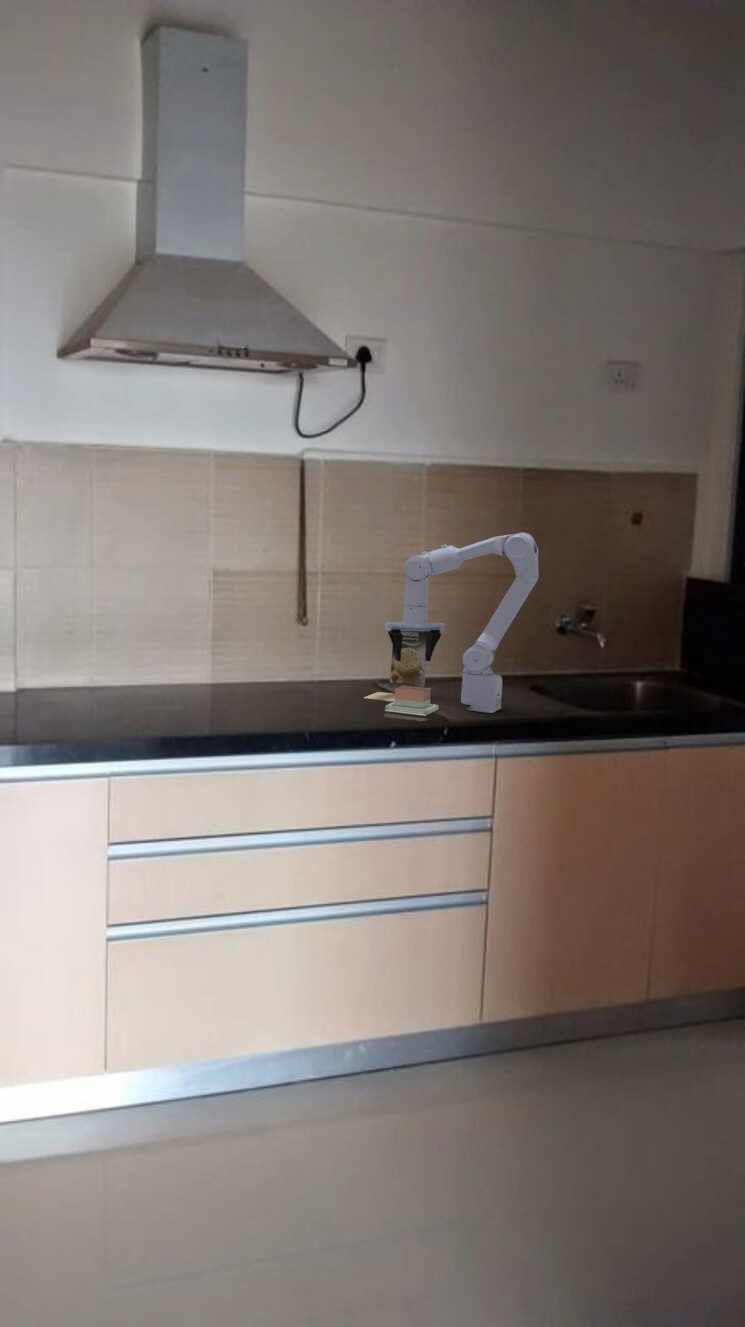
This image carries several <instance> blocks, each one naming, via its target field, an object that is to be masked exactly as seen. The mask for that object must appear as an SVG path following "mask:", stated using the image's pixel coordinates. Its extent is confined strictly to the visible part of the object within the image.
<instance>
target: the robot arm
mask: <svg viewBox="0 0 745 1327" xmlns="http://www.w3.org/2000/svg"><path fill="white" fill-rule="evenodd" d="M421 554H422V555H421ZM421 554H420V555H413V556H411V557H410V558H408V559H407V560H406V562H405V563H404V567H403V568H404V573H405V575H406V577H405V578H406V579H405V586H404V588H405V589H404V604H403V621H391V622H390V621H385V623H384V630H385V631H387V634H388V636H389V639H390V642H391V644H392V647H393V648H394V652H395V660H397V661H400V660H401V645H402V639H403V634H401V632H400V631H426V632H425V634H426V652H425V660H426V662H431V659H432V656H433V653H434V650H435V648H436V645H437V644H438V641H439V640H440V639H441V636H442V633H444V632H445V623H443V622H428V609H429V592H430V591H429V590H430V587H429V586H430V585H429V581H430V577H429V576H431V575H432V576H436V575H440V574H443V573H447V572H449V571H453V570H457V569H459V567H460V565H461V564H462V563H463V561H468V560H471V559H475V558H478V557H482V556H486V555H489V554H490V555H491V554H496V555H498V556H505V555H506V557H507V558H508V559H509V561H510V563H511V564H512V566H513V569H514V572H515V575H516V577H515V578H514V580H513V582H512V584H511V586H509V589H508V590H507V592H506V594H505V596H504V597H503V599H502V600H501V602H500V603H499V604H498V607H497V609H496V610H495V611H494V613H493V614H492V617H491V618H490V620H489V621H488V622H487V625H486V626H485V627H484V630H483V631H482V632H481V634H480V635H479V637H478V638H477V640H476V641H475V643H474V644H473V645H472V646H471V647H469V648H468V649H467V650H465V652H464V654H463V655H462V664H463V667H464V668H463V669H462V680H461V681H462V682H461V696H460V703H461V704H464V705H467V707H465V708H463V710H464V711H472V712H481V713H489V714H493V713H495V712H498V711H499V710H501V709H502V694H503V692H502V691H503V678H502V676H501V675H500V674H499V675H498V674H495V673H494V671H493V669H492V668H491V665H492V663H493V662H494V659H495V652H496V650H497V648H498V647H499V645H500V642H501V640H502V639H503V637H504V635H505V633H506V632H507V631H508V629H509V627H510V626H511V624H512V622H513V621H514V619H515V617H516V616H517V614H518V613H519V611H520V609H521V607H522V606H523V604H524V603H525V601H526V600H527V598H528V596H529V594H531V591H532V590H533V588H534V586H535V585H536V583H537V582H538V579H539V575H540V574H539V548H538V546H537V543H536V540H535V538H534V537H533V536H532V535H531V534H530V533H527V532H518V533H514V534H512V533H511V534H505V535H498V536H494V537H490V538H488V539H485V540H482V541H478V542H475V543H472V544H470V545H466V546H464V547H461V548H458V547H456V546H454V545H448V544H443V545H440V548H438V549H434V550H431V551H427V550H425V551H422V552H421ZM403 628H405V629H403ZM408 628H423V629H408ZM468 705H469V706H468Z"/></svg>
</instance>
